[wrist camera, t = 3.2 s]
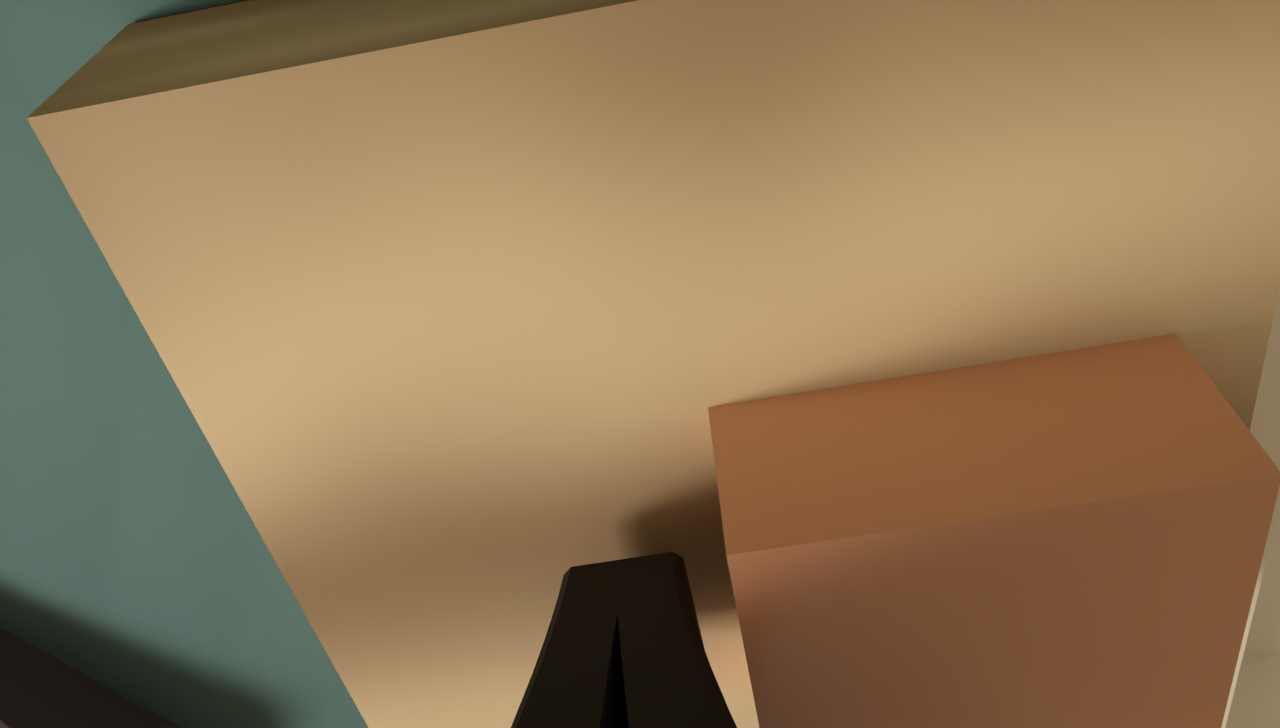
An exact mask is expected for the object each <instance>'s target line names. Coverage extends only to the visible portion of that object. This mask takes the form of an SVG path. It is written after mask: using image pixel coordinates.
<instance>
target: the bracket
mask: <svg viewBox="0 0 1280 728" xmlns="http://www.w3.org/2000/svg"><path fill="white" fill-rule="evenodd" d="M0 728H179V727H177V726H175V725H174V724H172V723H170V722H168V721H166V720H165V719H163V718H161V717H159V716H157V715H156V714H154V713H152V712H150V711H149V710H147V709H145V708H143V707H141V706H140V705H138V704H136V703H134V702H133V701H131V700H129V699H127V698H125V697H124V696H122V695H120V694H118V693H116V692H115V691H113V690H111V689H109V688H108V687H106V686H104V685H102V684H100V683H99V682H97V681H95V680H93V679H91V678H90V677H88V676H86V675H84V674H82V673H81V672H79V671H77V670H75V669H74V668H72V667H70V666H68V665H66V664H65V663H63V662H61V661H59V660H57V659H56V658H54V657H52V656H50V655H49V654H47V653H45V652H43V651H41V650H40V649H38V648H36V647H34V646H32V645H31V644H29V643H27V642H25V641H24V640H22V639H20V638H18V637H16V636H15V635H13V634H11V633H9V632H7V631H6V630H4V629H2V628H0Z"/></svg>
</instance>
